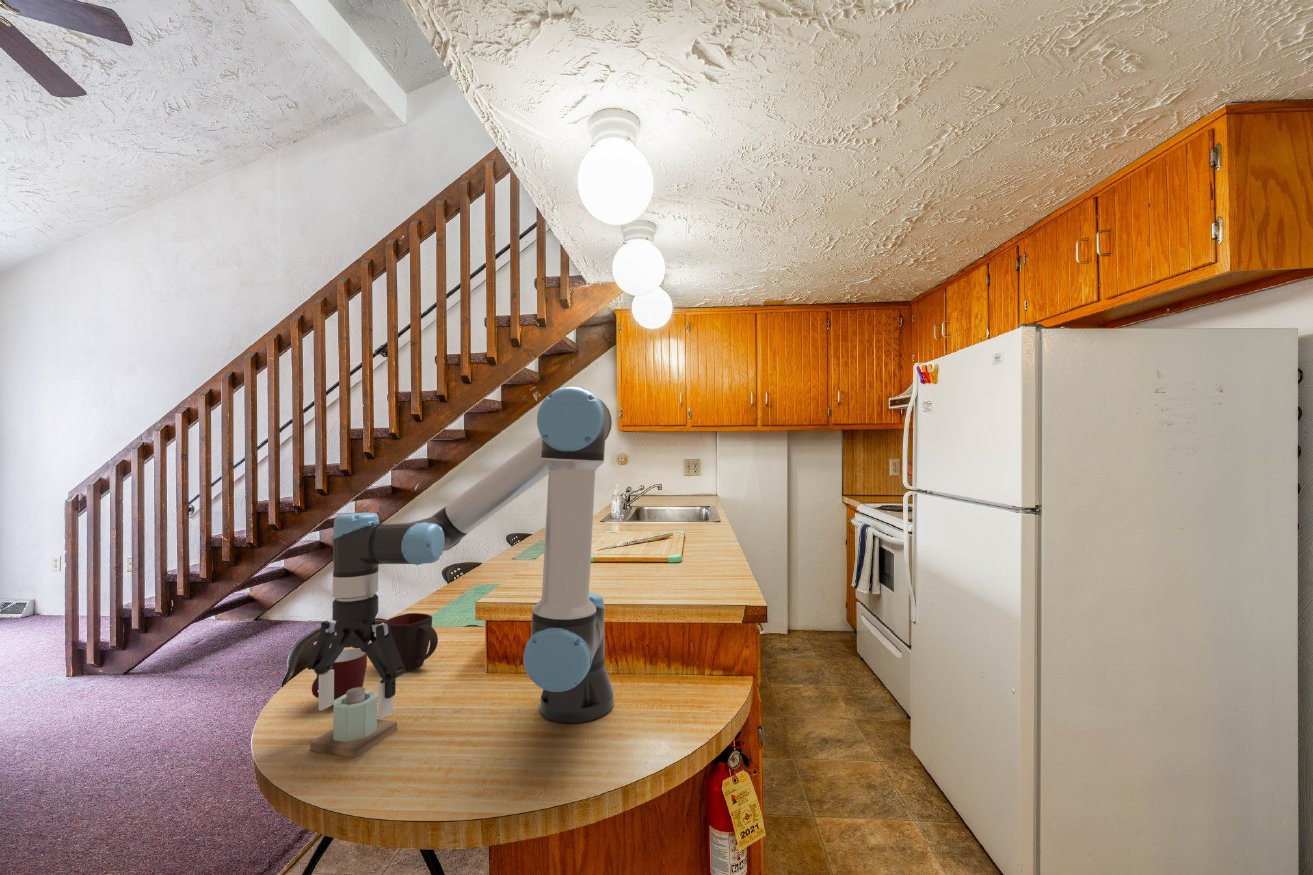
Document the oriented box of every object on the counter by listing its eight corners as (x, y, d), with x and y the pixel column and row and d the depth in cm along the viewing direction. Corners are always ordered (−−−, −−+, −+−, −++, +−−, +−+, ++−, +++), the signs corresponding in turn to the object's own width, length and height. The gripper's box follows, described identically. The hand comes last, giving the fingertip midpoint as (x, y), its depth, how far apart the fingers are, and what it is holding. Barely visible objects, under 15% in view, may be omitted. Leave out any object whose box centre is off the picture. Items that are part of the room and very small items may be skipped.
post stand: (397, 729, 103) (397, 682, 103) (355, 757, 93) (355, 705, 93) (355, 723, 105) (355, 677, 106) (310, 750, 96) (310, 699, 96)
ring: (385, 724, 102) (385, 692, 102) (355, 743, 95) (355, 709, 95) (355, 720, 104) (355, 688, 104) (324, 738, 97) (324, 705, 97)
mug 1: (326, 719, 107) (326, 669, 108) (302, 711, 111) (303, 662, 111) (374, 698, 117) (375, 651, 117) (351, 691, 120) (352, 646, 121)
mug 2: (410, 657, 140) (410, 611, 141) (450, 664, 135) (450, 616, 135) (377, 671, 131) (377, 622, 132) (418, 680, 126) (418, 628, 126)
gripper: (425, 594, 100) (425, 708, 100) (320, 588, 107) (319, 695, 106) (396, 605, 93) (396, 728, 92) (285, 597, 100) (284, 713, 99)
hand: (355, 711), depth 99 cm, fingers open, 13 cm apart
